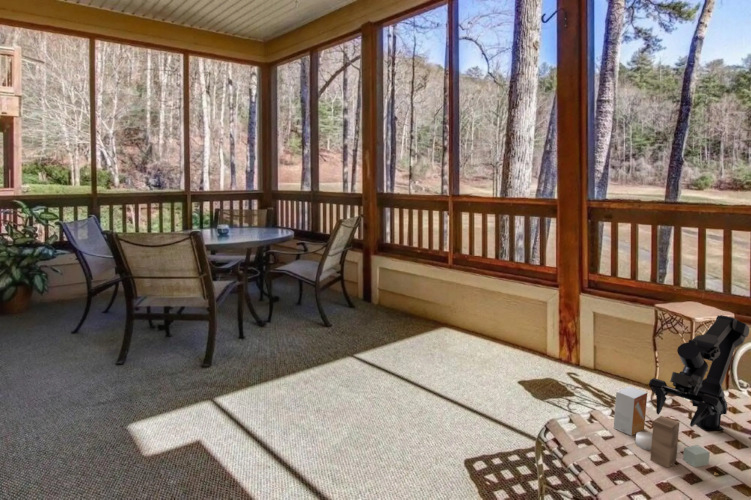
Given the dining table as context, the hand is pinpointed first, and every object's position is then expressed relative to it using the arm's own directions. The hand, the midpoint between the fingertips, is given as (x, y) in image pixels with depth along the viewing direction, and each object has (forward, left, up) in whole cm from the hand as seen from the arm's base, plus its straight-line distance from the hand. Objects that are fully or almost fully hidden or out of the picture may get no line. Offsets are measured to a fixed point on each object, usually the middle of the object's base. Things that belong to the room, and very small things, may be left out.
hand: (673, 419), depth 145 cm
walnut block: (+4, +3, -11) cm, 13 cm away
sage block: (-5, +4, -12) cm, 13 cm away
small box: (+3, -16, -12) cm, 20 cm away
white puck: (+4, -6, -12) cm, 14 cm away
